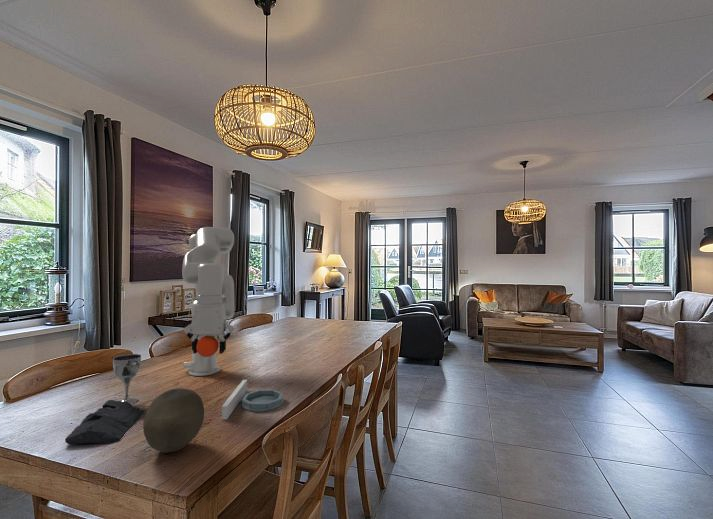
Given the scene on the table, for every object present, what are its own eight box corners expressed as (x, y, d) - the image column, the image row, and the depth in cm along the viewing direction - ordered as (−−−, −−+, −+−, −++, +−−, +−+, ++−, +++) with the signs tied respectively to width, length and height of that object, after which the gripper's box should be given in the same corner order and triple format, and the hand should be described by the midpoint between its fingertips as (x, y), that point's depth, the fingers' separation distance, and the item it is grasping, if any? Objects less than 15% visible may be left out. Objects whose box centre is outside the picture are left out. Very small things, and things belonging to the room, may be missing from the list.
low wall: (221, 419, 105) (221, 406, 105) (242, 390, 129) (243, 379, 129) (226, 419, 105) (227, 406, 105) (246, 390, 129) (247, 379, 129)
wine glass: (145, 398, 120) (146, 355, 120) (123, 407, 113) (124, 361, 113) (129, 395, 123) (129, 353, 123) (106, 404, 115) (107, 358, 115)
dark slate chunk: (51, 452, 87) (51, 433, 87) (92, 415, 108) (92, 399, 108) (121, 444, 91) (121, 426, 91) (147, 410, 112) (147, 395, 112)
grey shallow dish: (236, 412, 110) (236, 404, 110) (247, 395, 124) (247, 389, 124) (280, 411, 111) (280, 404, 111) (286, 395, 125) (286, 388, 125)
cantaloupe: (127, 459, 84) (128, 396, 84) (176, 432, 97) (177, 378, 97) (171, 472, 78) (172, 405, 79) (217, 442, 92) (218, 385, 92)
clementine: (222, 352, 122) (222, 332, 122) (221, 358, 115) (221, 336, 115) (197, 354, 119) (197, 333, 119) (194, 360, 112) (195, 338, 112)
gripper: (178, 301, 113) (177, 355, 113) (233, 301, 114) (232, 355, 114) (187, 298, 120) (187, 349, 120) (239, 299, 121) (238, 349, 121)
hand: (209, 352), depth 117 cm, fingers closed on clementine, 8 cm apart
